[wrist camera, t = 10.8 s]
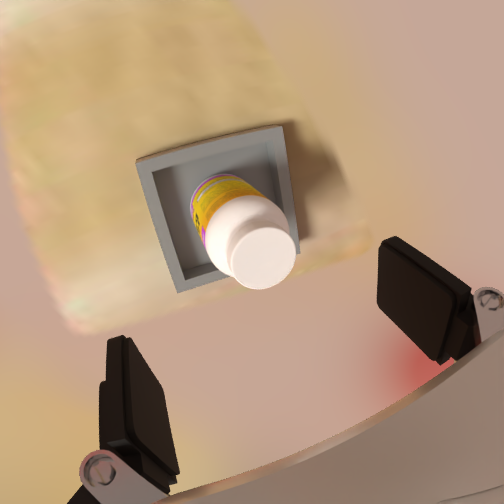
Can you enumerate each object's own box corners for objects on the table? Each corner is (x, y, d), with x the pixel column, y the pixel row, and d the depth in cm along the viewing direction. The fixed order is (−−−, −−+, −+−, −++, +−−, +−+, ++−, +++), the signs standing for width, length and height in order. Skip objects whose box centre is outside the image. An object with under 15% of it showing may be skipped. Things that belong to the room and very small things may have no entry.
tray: (136, 159, 28) (135, 163, 26) (272, 124, 31) (282, 126, 29) (175, 281, 35) (177, 293, 33) (291, 244, 38) (300, 253, 35)
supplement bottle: (176, 196, 31) (195, 249, 20) (233, 159, 31) (285, 191, 20) (211, 246, 34) (246, 317, 23) (263, 212, 34) (322, 266, 23)
